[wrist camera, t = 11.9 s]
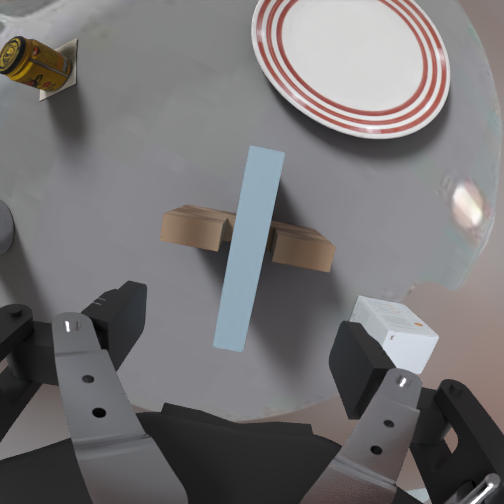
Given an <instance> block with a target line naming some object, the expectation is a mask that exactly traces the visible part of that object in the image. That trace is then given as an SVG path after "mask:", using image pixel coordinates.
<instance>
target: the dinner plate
mask: <svg viewBox="0 0 504 504" xmlns="http://www.w3.org/2000/svg"><path fill="white" fill-rule="evenodd" d="M251 37H252V44H253V48H254V52H255V55H256V58H257V61H258V62H259V65H260V67H261V69H262V70H263V72H264V73H265V75H266V77H267V78H268V79H269V81H270V82H271V83H272V85H273V86H274V87H275V88H276V90H277V91H278V92H279V93H280V94H281V95H282V96H283V97H284V98H285V99H286V100H287V101H288V102H290V103H291V104H292V105H293V106H294V107H295V108H297V109H298V110H299V111H301V112H302V113H304V114H305V115H307V116H308V117H310V118H311V119H313V120H315V121H317V122H318V123H320V124H322V125H324V126H326V127H328V128H331V129H333V130H336V131H339V132H341V133H344V134H348V135H352V136H356V137H360V138H368V139H392V138H398V137H403V136H406V135H409V134H412V133H414V132H416V131H418V130H420V129H422V128H423V127H425V126H426V125H428V124H429V123H430V122H431V121H432V120H433V119H434V118H435V117H436V116H437V115H438V113H439V112H440V111H441V109H442V107H443V105H444V103H445V101H446V98H447V95H448V91H449V86H450V65H449V59H448V55H447V51H446V48H445V46H444V43H443V41H442V38H441V36H440V34H439V32H438V31H437V29H436V27H435V26H434V24H433V23H432V21H431V20H430V18H429V17H428V16H427V15H426V13H425V12H424V11H423V10H422V9H421V8H420V7H419V6H418V5H417V4H416V3H415V2H414V1H413V0H259V2H258V4H257V6H256V9H255V11H254V14H253V19H252V25H251Z"/></svg>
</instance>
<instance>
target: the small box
mask: <svg viewBox="0 0 504 504" xmlns="http://www.w3.org/2000/svg"><path fill="white" fill-rule="evenodd" d="M350 322H358V323H361V324H362V325H363V327H364V328H365V330H366V331H367V333H368V334H369V335H370V336H372V337H373V338H374V339H376V340H377V341H378V342H379V343H380V345H381V346H382V347H383V350H385V352H386V353H387V355H388V356H389V357H390V359H391V360H392V362H393V363H394V364H395V366H396V367H397V368H401V369H405V370H408V371H410V372H412V373H414V374H421V372H422V370H423V369H424V366H425V365H426V363H427V361H428V359H429V357H430V355H431V353H432V351H433V349H434V347H435V345H436V343H437V341H438V338H439V336H438V335H437V334H436V333H435V332H434V331H433V330H432V329H431V328H429V327H428V326H427V325H426V324H425V323H424V322H423V321H422V320H421V319H419V318H418V317H417V316H416V315H415V314H414V313H413V312H412V311H410V309H408V308H407V307H406V306H405V305H404V304H399V303H394V302H389V301H384V300H379V299H374V298H368V297H364V296H358V299H357V302H356V305H355V307H354V310H353V313H352V316H351V318H350Z"/></svg>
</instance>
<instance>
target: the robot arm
mask: <svg viewBox="0 0 504 504" xmlns="http://www.w3.org/2000/svg"><path fill="white" fill-rule="evenodd" d="M13 234H14V227H13V220H12V216H11V213H10V211H9V209H8V207H7V206H6V205H5V204H4V203H3V202H2V201H0V254H3V253H5V252H7V251H8V250H9V248H10V247H11V244H12V241H13ZM146 299H147V286H146V284H142V283H137V282H133V281H127V282H126V283H125V284H124V285H123V286H121V287H120V288H119V289H118V290H117V289H113V290H110V291H107V292H105V293H103V294H102V295H101V296H100V297H99V298H97V299H96V300H95V301H94V303H91V304H90V305H89V306H88V307H87V308H85V309H84V310H83V311H82V312H81V313H76V312H67V313H62V314H59V315H57V316H56V317H54V318H53V320H52V324H50V323H43V322H36V321H33V314H32V310H31V309H30V308H29V307H27V306H25V305H21V304H11V305H6V306H4V307H2V308H0V362H1V361H2V360H3V359H4V358H5V357H6V359H7V362H8V366H7V367H6V368H5V369H4V371H2V373H1V374H0V442H1V441H2V439H3V438H4V436H5V435H6V433H7V432H8V430H9V429H10V427H11V426H12V424H13V423H14V422H15V420H16V419H17V418H18V416H19V415H20V413H21V412H22V411H23V409H24V408H25V407H26V405H27V404H28V402H29V401H30V399H31V398H32V397H33V396H34V394H35V393H36V392H37V390H38V389H39V388H40V386H41V385H42V384H43V383H44V384H50V385H57V386H59V387H60V392H61V398H62V402H63V407H64V412H65V416H66V420H67V424H68V428H69V432H70V435H71V438H69V439H65V440H63V441H60V442H57V443H54V444H51V445H48V446H45V447H42V448H39V449H36V450H33V451H30V452H26V453H23V454H20V455H16V456H13V457H9V458H6V459H3V460H0V504H423V503H422V502H420V501H419V500H417V499H416V498H414V497H412V496H411V495H409V494H408V493H406V492H405V491H403V490H402V489H400V488H399V487H397V486H396V481H397V479H398V476H399V474H400V471H401V468H402V466H403V463H404V460H405V458H406V455H407V452H408V449H409V448H410V450H411V453H412V455H413V457H414V459H415V462H416V465H417V467H418V469H419V472H420V474H421V476H422V479H423V481H424V484H425V487H426V489H427V492H428V494H429V497H430V499H431V502H432V504H504V435H503V433H502V432H501V430H500V429H499V428H498V426H497V425H496V424H495V422H494V421H493V420H492V418H491V417H490V416H489V414H488V413H487V412H486V411H485V409H484V408H483V407H482V405H481V404H480V403H479V402H478V400H477V399H476V398H475V396H474V395H473V394H472V393H471V391H470V390H469V389H468V388H467V387H466V386H465V385H464V384H462V383H460V382H458V381H455V380H451V379H445V380H443V381H442V382H441V384H440V385H439V387H438V389H437V390H433V389H428V388H423V387H422V381H421V380H420V378H419V377H418V376H417V375H415V374H414V373H412V372H410V371H408V370H405V369H401V368H397V367H396V366H395V364H394V363H393V362H392V360H391V359H390V357H389V356H388V355H387V353H386V352H385V350H383V347H382V346H381V345H380V343H379V342H378V341H377V340H376V339H374V338H373V337H372V336H370V335H369V334H368V333H367V331H366V330H365V328H364V327H363V325H362V324H361V323H358V322H350V321H343V322H342V323H341V324H340V327H339V329H338V332H337V335H336V338H335V341H334V344H333V347H332V350H331V352H330V356H329V367H330V370H331V373H332V375H333V378H334V381H335V383H336V386H337V389H338V391H339V394H340V397H341V399H342V402H343V405H344V407H345V410H346V413H347V416H348V418H349V419H360V420H359V422H358V424H357V425H356V427H355V428H354V430H353V431H352V433H351V434H350V436H349V437H348V439H347V441H346V442H345V443H344V445H343V446H341V445H339V444H338V443H336V442H333V441H332V440H329V439H327V438H324V437H321V436H318V435H314V434H313V432H312V427H311V424H301V423H287V422H265V423H247V424H239V423H234V422H231V421H228V420H225V419H222V418H220V417H217V416H214V415H211V414H209V413H206V412H203V411H201V410H196V409H191V408H186V407H182V406H177V405H173V404H169V403H164V405H163V408H162V411H161V412H143V413H136V414H135V412H134V410H133V408H132V406H131V404H130V402H129V400H128V398H127V396H126V393H125V391H124V389H123V387H122V385H121V382H120V380H119V378H118V376H117V373H116V372H117V370H118V369H119V367H120V366H121V364H122V362H123V361H124V359H125V358H126V356H127V355H128V353H129V352H130V350H131V349H132V347H133V346H134V344H135V343H136V341H137V340H138V338H139V337H140V335H141V334H142V332H143V329H144V325H145V315H146ZM451 427H452V428H453V429H454V431H455V432H456V434H457V436H458V445H457V448H456V449H455V451H454V452H453V453H451V451H450V449H449V448H448V446H447V444H446V443H445V440H444V437H445V436H446V434H447V433H448V431H449V430H450V429H451Z"/></svg>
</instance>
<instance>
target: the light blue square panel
mask: <svg viewBox="0 0 504 504" xmlns="http://www.w3.org/2000/svg"><path fill="white" fill-rule="evenodd" d="M284 156H285V153H284V152H280V151H275V150H270V149H265V148H260V147H255V146H250V149H249V154H248V159H247V164H246V168H245V173H244V178H243V184H242V189H241V194H240V199H239V204H238V209H237V214H236V220H235V225H234V230H233V235H232V241H231V246H230V251H229V257H228V262H227V268H226V273H225V279H224V285H223V290H222V296H221V301H220V307H219V313H218V319H217V325H216V330H215V336H214V342H213V347H217V348H222V349H227V350H233V351H238V352H243V348H244V344H245V339H246V335H247V330H248V326H249V321H250V316H251V312H252V307H253V303H254V298H255V294H256V289H257V284H258V280H259V275H260V270H261V266H262V261H263V256H264V252H265V247H266V242H267V238H268V233H269V228H270V223H271V219H272V214H273V209H274V204H275V199H276V195H277V190H278V185H279V180H280V175H281V170H282V165H283V160H284Z"/></svg>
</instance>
